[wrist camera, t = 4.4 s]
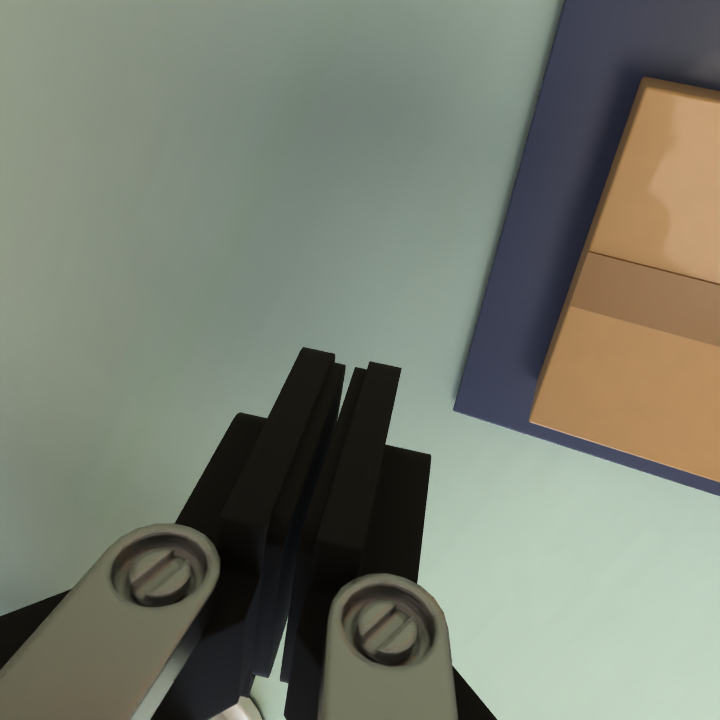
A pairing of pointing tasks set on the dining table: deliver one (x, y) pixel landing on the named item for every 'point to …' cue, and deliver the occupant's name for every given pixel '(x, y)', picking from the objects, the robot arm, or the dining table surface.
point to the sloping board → (575, 195)
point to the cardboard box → (647, 294)
